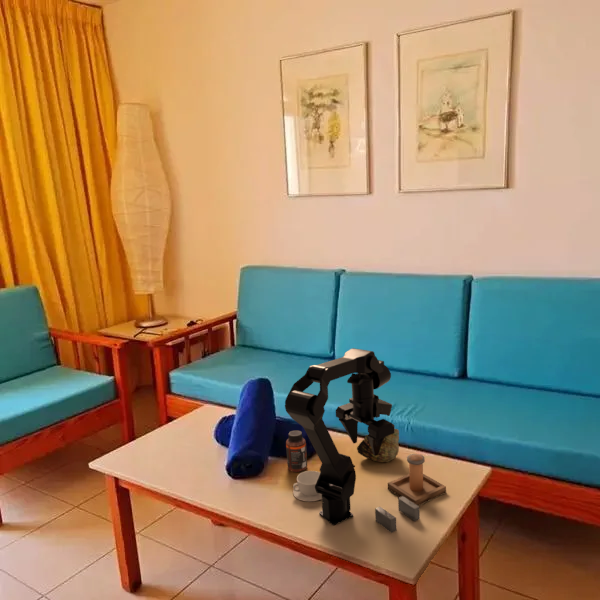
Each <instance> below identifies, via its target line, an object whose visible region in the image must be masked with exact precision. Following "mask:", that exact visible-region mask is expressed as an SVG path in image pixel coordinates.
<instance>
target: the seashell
mask: <svg viewBox="0 0 600 600" xmlns="http://www.w3.org/2000/svg"><path fill="white" fill-rule="evenodd" d="M368 435H369V434H366V435H365V437H364V439H362V440H361V442H360V443H359V444H358V446H356V449H357V453H358V455H360V456H363V457H364V458H367V459H369V460H370V461H374V462H376V463H387V462H391V460H392V461H393V460H394V459H396V457H397V456H398V454H399V452H400V451H399V450H400V447H399V440H400V431H399V429H398V428H395V433H393V434H391V435H389V436H386V437H385V438H384V440H383V442H382V445H381V448H380V451H379V454H378V455H377V456H374V454H373V451H372V448H371V445H370V442H369V438H368Z"/></svg>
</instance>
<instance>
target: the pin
mask: <svg viewBox="0 0 600 600" xmlns="http://www.w3.org/2000/svg"><path fill="white" fill-rule="evenodd" d="M425 459H426V457H425V456H424V455H423V454H419V453H411V454H408V455H407V456H406V461H407V463H408V471H409V472H408V474H409V479H410V490H412V491H415V492H420V491H422V490H423V474H424V463H425Z"/></svg>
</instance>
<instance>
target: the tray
mask: <svg viewBox="0 0 600 600" xmlns="http://www.w3.org/2000/svg"><path fill="white" fill-rule="evenodd" d="M387 490H389V491H390V492H392V493H393V494H395V495H397V496H398V498H400V497H402V496H404V497H405V498H407V499H408V500H410V501H411V502H413V503H414V504H416V505H418V506H419V507H420V506H421V505H423V504H425V503H427V502H430V501H432V500H433V499H435V498H438V497H440V496H442V495H444V494H446V493H447V485H443V484H442V483H441V482H439V481H437V480H435V479H434V478H431V477H430V476H427V475H426V474H424V473H423V490H422V491H420V492H415V491H412V490H410V479H409V473H407V474H405V475H402V476H401V477H398V478H396V479H393V480H391V481H389V482H387Z"/></svg>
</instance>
